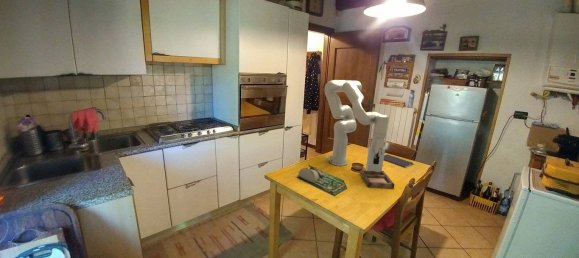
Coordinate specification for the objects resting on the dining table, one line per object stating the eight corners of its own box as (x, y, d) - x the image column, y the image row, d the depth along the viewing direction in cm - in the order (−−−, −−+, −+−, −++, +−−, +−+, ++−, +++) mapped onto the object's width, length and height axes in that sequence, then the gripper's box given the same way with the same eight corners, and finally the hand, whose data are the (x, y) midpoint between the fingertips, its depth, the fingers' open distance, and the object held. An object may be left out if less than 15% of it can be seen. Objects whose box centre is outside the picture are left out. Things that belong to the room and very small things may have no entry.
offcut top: (371, 185, 141) (371, 183, 140) (367, 180, 148) (367, 177, 147) (387, 186, 141) (388, 183, 141) (383, 180, 148) (383, 178, 147)
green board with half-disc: (291, 164, 149) (312, 157, 163) (291, 176, 151) (311, 167, 165) (335, 184, 127) (355, 173, 141) (334, 197, 129) (353, 185, 143)
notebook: (378, 159, 186) (405, 168, 170) (378, 157, 186) (405, 166, 170) (387, 156, 194) (413, 164, 178) (387, 154, 194) (413, 162, 178)
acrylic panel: (367, 170, 150) (370, 147, 146) (365, 168, 153) (369, 146, 149) (381, 171, 150) (385, 148, 146) (380, 168, 153) (383, 146, 149)
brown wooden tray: (367, 188, 139) (368, 182, 138) (359, 174, 156) (360, 169, 155) (393, 189, 139) (394, 184, 138) (382, 175, 156) (383, 170, 155)
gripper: (369, 130, 153) (365, 157, 158) (377, 138, 137) (372, 168, 142) (380, 131, 153) (376, 158, 158) (390, 139, 137) (385, 168, 142)
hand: (374, 162), depth 150 cm, fingers closed on acrylic panel, 3 cm apart
